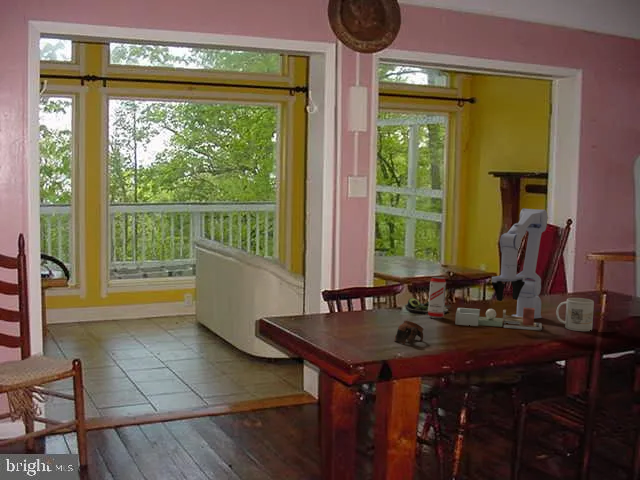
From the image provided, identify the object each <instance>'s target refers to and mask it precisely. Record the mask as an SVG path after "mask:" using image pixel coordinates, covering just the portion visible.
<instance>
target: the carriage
mask: <svg viewBox="0 0 640 480" xmlns="http://www.w3.org/2000/svg"><path fill="white" fill-rule="evenodd" d="M534 311H535V310H534V308H525V307H524V308H523V317H517V316H512V315H507V309H503V310H502V318H503V322H504V321H517V322H520V324H519V326H530V327H537V326H536V323H537V322H535V319H534Z"/></svg>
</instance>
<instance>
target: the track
mask: <svg viewBox="0 0 640 480" xmlns="http://www.w3.org/2000/svg"><path fill="white" fill-rule="evenodd" d="M506 323H508V324H506ZM535 323H536V327H530V326H520V322H517V321H503V317H495V318H494V319H488V318H487V317H486V316H478V326H487V327H498V328H499V327H501V328H502V327H503V328H505V329H514V330H515V329H517V330H529V331H541V330H542V331H543V327H542V326H543V325H542V322H535Z"/></svg>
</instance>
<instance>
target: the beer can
mask: <svg viewBox="0 0 640 480" xmlns="http://www.w3.org/2000/svg"><path fill="white" fill-rule="evenodd" d="M446 288H447V281H446V278H445V277H442V276H432V277H431V279H430V282H429V293H428V302H429V307H428V314H427V316H428V317H429V318H432V319H443V317H444V316H445V313H444V305H445V304H446Z"/></svg>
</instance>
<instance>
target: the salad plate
mask: <svg viewBox="0 0 640 480" xmlns="http://www.w3.org/2000/svg"><path fill="white" fill-rule="evenodd" d="M428 307H429V301H426V302H425V303H421V302H420V300H419V299H417V298H414V297H411V298H409V299H408V301H407V304H405V310H407V311H408V312H410V313H413V314H418V315H420V314H422V315H428ZM451 307H452V305H444V314H445V313H447V312H448V311H449V308H451Z"/></svg>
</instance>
